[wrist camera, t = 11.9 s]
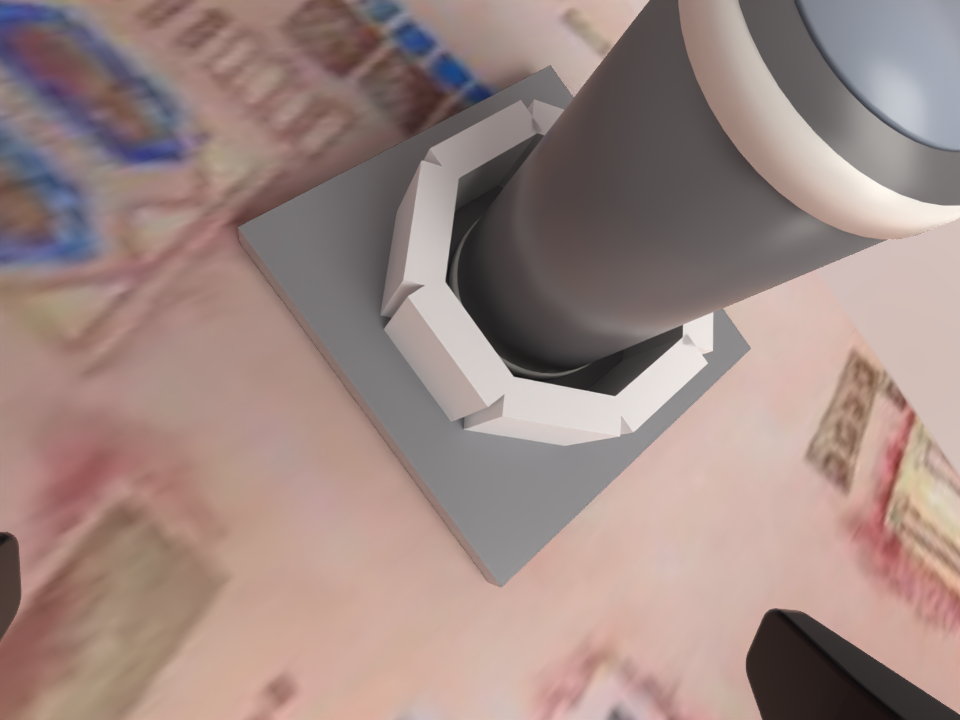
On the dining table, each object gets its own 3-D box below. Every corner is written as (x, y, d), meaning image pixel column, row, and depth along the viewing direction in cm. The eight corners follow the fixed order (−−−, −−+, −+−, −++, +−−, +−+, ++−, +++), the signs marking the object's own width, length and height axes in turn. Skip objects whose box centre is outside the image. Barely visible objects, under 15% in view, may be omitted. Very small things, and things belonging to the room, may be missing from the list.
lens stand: (730, 354, 22) (824, 326, 19) (489, 582, 18) (550, 605, 14) (538, 83, 22) (594, -1, 18) (239, 241, 17) (233, 171, 13)
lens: (622, 368, 19) (1114, 190, 8) (464, 399, 17) (828, 218, 6) (580, 210, 20) (977, -151, 9) (424, 222, 18) (685, -222, 7)
